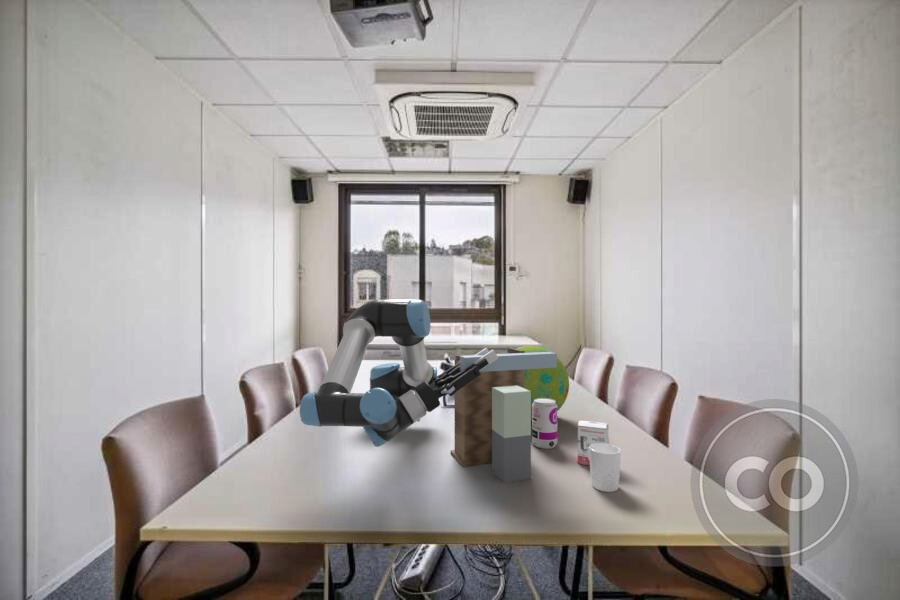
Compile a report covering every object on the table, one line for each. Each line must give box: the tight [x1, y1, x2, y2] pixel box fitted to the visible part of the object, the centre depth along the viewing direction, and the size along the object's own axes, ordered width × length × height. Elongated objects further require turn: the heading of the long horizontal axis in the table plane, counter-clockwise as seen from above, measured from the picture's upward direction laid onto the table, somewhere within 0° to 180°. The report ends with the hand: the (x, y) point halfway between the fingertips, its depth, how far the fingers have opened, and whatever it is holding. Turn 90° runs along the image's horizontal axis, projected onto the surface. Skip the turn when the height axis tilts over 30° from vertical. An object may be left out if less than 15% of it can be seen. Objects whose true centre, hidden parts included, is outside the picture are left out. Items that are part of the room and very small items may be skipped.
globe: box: [515, 345, 570, 422], centre depth 170 cm, size 30×30×30 cm
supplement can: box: [531, 398, 558, 450], centre depth 139 cm, size 8×8×15 cm
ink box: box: [577, 420, 609, 466], centre depth 124 cm, size 9×5×12 cm, turn 68°
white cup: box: [589, 443, 622, 493], centre depth 109 cm, size 8×8×10 cm
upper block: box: [492, 385, 532, 438], centre depth 116 cm, size 8×8×12 cm
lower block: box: [491, 430, 532, 484], centre depth 116 cm, size 8×8×12 cm
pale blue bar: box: [460, 351, 558, 372], centre depth 116 cm, size 28×4×4 cm, turn 108°
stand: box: [450, 347, 525, 467], centre depth 130 cm, size 22×11×33 cm, turn 108°
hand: (491, 353), depth 114 cm, fingers closed on pale blue bar, 4 cm apart
